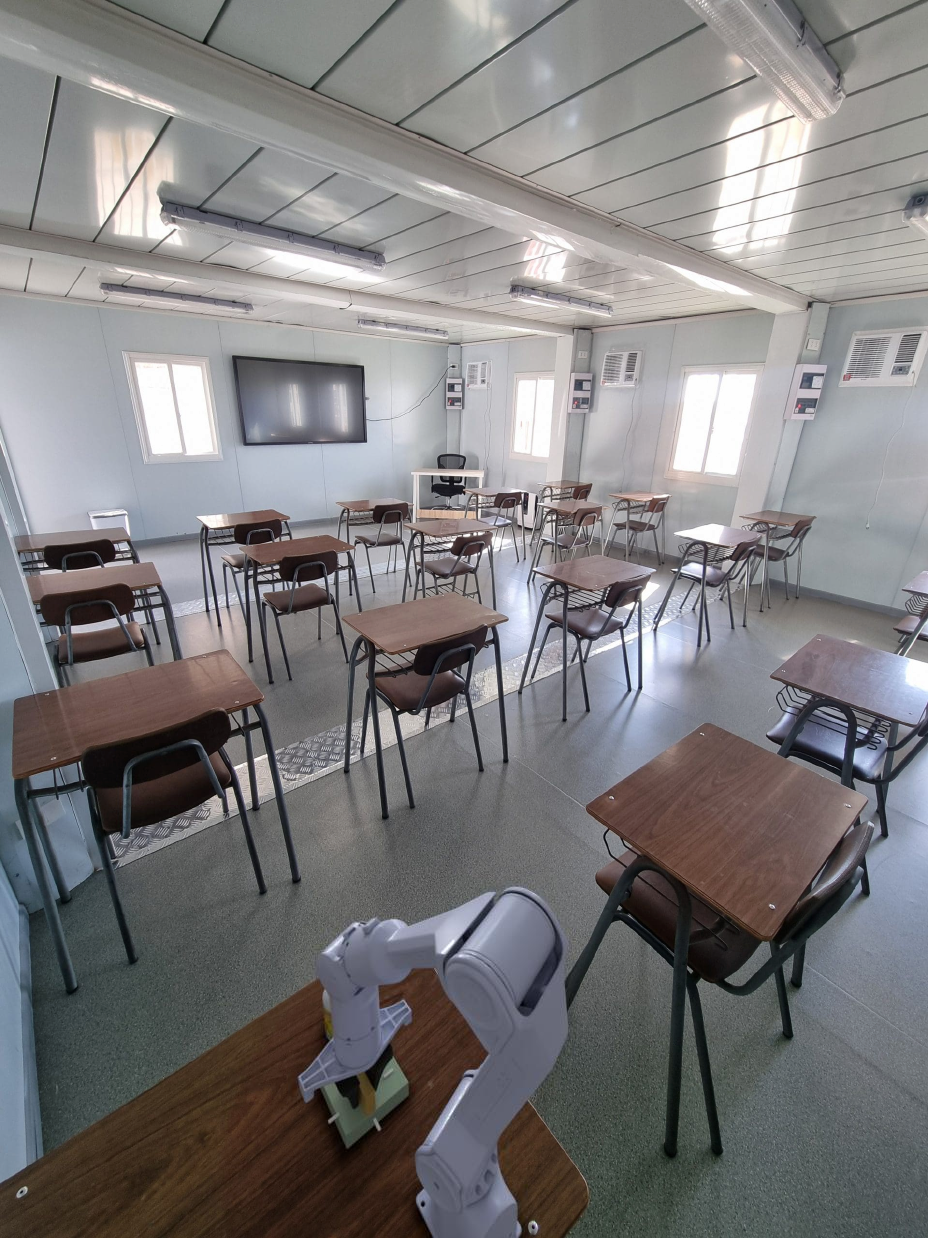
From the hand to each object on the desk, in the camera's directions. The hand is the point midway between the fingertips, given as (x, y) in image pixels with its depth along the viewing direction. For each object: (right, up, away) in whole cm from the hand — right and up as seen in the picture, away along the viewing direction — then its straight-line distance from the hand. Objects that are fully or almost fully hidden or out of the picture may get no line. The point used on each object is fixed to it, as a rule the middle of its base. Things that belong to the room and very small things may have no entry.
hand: (361, 1093), depth 65 cm
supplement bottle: (-5, 0, +10) cm, 11 cm away
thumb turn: (0, 0, 0) cm, 0 cm away
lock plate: (-1, -3, +2) cm, 3 cm away
